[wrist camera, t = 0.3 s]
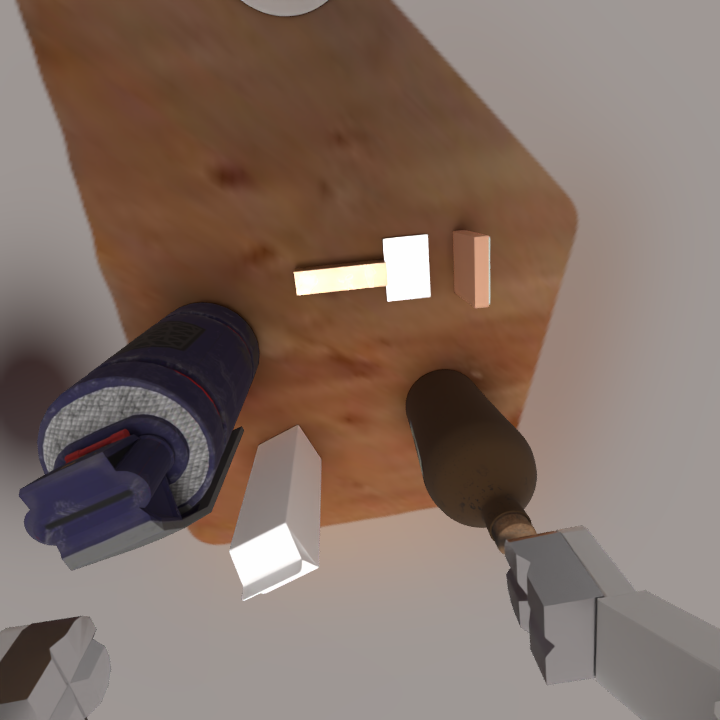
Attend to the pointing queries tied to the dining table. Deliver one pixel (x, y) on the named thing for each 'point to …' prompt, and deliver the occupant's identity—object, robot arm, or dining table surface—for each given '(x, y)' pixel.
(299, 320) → the dining table surface
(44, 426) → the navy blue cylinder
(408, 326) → the dining table surface
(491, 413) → the olive oil
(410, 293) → the turner
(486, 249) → the tile
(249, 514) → the milk
